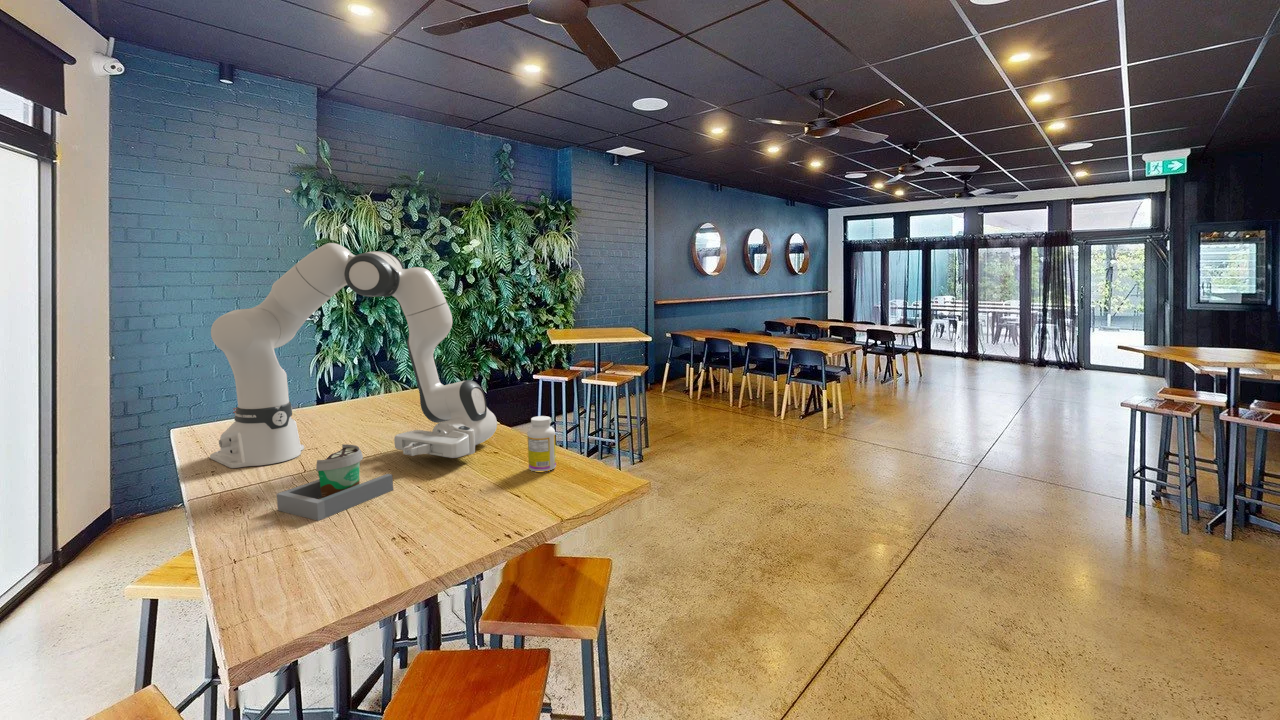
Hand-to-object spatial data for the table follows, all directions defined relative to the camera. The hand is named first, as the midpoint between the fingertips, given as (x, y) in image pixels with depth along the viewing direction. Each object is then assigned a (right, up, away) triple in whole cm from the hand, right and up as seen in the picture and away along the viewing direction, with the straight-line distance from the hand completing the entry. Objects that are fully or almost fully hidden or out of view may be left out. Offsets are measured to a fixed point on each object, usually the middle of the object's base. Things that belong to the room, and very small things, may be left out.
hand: (407, 452), depth 138 cm
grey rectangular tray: (-8, -7, -16) cm, 19 cm away
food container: (-7, -7, -15) cm, 18 cm away
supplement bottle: (+32, -5, +3) cm, 32 cm away
